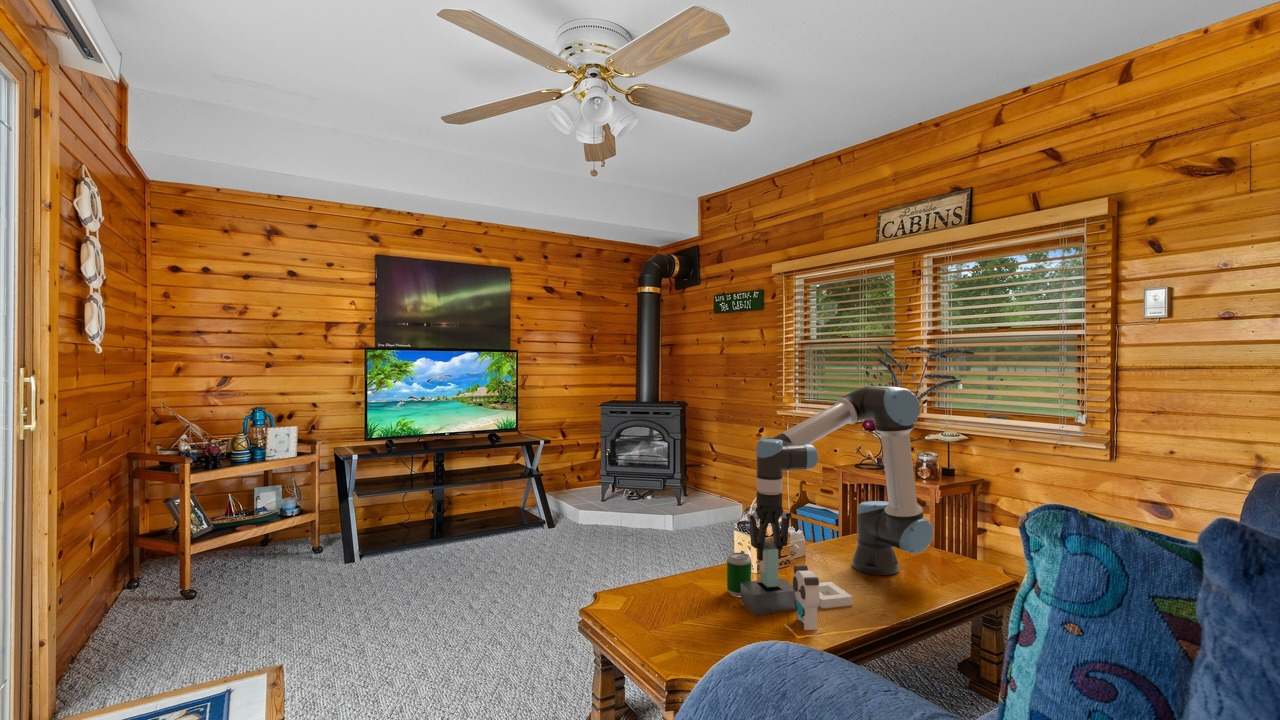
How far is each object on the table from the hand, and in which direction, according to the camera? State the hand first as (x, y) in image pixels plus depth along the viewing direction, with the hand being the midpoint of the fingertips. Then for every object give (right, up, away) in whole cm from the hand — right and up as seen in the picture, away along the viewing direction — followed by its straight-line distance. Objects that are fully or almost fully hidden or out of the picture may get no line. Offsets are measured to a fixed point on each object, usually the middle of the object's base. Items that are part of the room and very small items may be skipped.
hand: (768, 570), depth 182 cm
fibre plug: (0, -4, 0) cm, 4 cm away
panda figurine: (+8, -11, -12) cm, 18 cm away
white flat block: (+19, -11, +5) cm, 22 cm away
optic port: (0, -11, 0) cm, 11 cm away
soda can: (-7, -11, +10) cm, 16 cm away
